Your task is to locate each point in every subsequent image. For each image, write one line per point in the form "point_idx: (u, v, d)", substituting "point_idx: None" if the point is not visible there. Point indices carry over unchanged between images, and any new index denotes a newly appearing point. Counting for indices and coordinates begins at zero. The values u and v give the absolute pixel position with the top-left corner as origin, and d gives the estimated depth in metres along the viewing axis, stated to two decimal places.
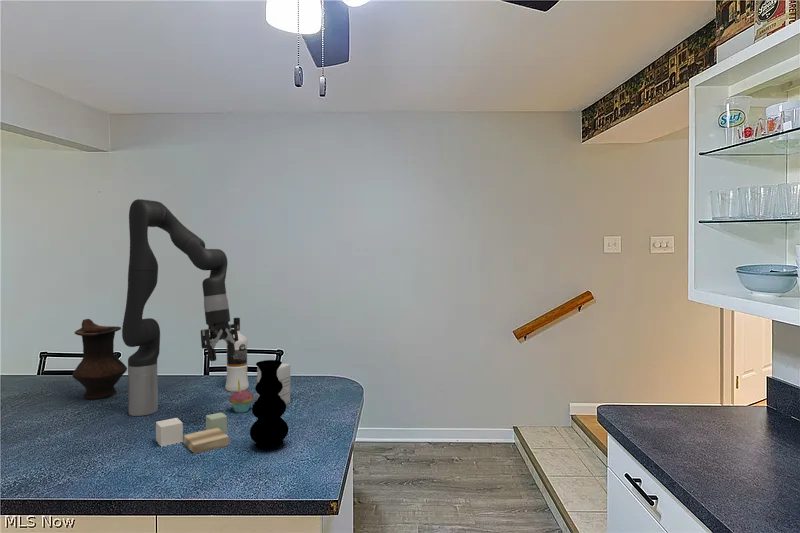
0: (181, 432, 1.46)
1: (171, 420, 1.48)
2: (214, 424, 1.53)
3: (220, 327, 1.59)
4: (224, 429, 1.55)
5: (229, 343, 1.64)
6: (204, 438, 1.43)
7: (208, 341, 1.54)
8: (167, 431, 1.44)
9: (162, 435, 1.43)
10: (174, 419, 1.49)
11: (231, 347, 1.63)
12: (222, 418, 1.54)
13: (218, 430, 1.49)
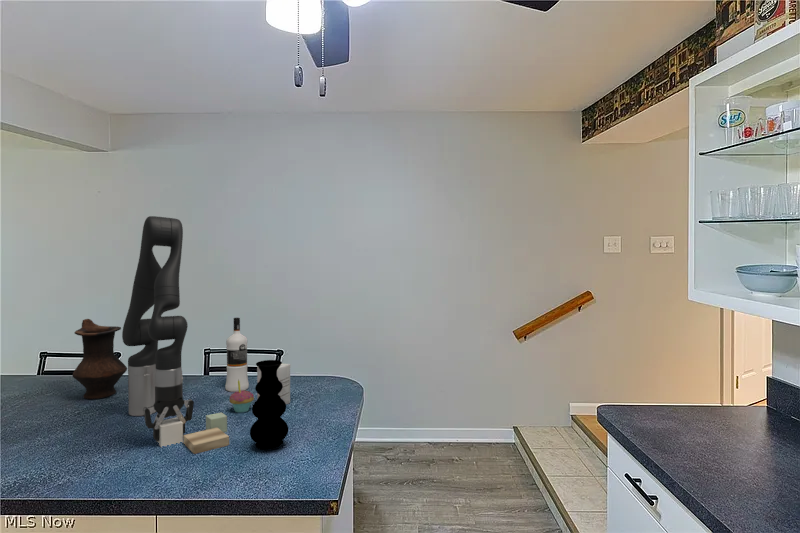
0: (181, 432, 1.46)
1: (171, 420, 1.48)
2: (214, 424, 1.53)
3: (168, 403, 1.45)
4: (224, 429, 1.55)
5: None
6: (204, 437, 1.43)
7: (149, 421, 1.42)
8: (167, 430, 1.44)
9: (162, 435, 1.43)
10: (174, 419, 1.49)
11: None
12: (222, 418, 1.54)
13: (218, 430, 1.49)
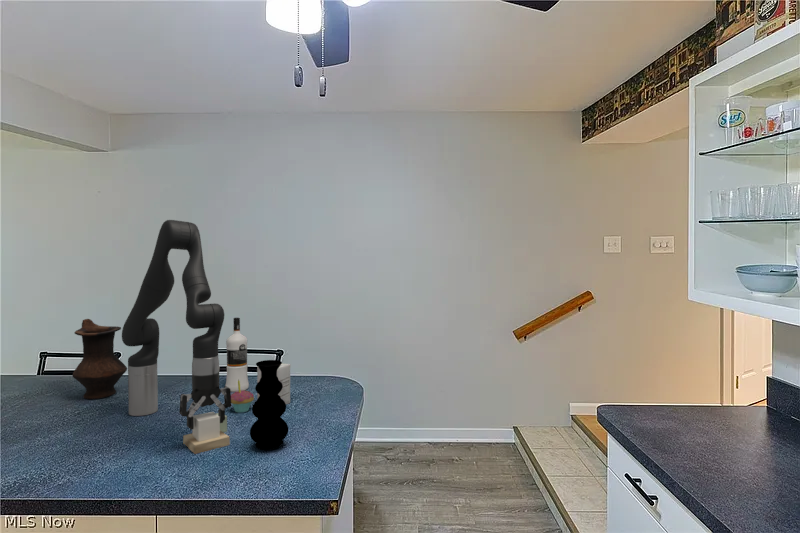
0: (218, 426, 1.44)
1: (207, 414, 1.46)
2: None
3: (205, 392, 1.43)
4: (224, 429, 1.55)
5: (219, 408, 1.47)
6: None
7: (184, 409, 1.40)
8: (205, 424, 1.42)
9: (200, 429, 1.41)
10: (210, 413, 1.47)
11: (220, 414, 1.47)
12: None
13: None
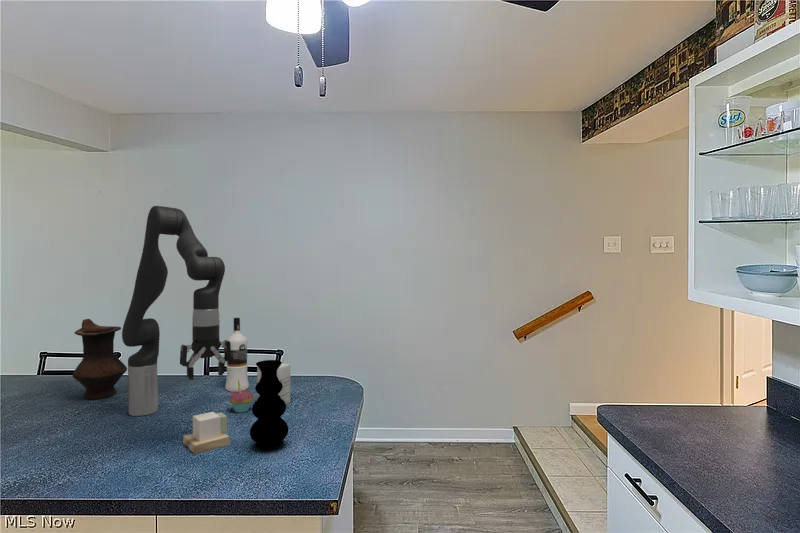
0: (219, 426, 1.44)
1: (208, 414, 1.46)
2: None
3: (205, 344, 1.45)
4: (224, 429, 1.55)
5: (219, 361, 1.49)
6: None
7: (184, 359, 1.41)
8: (206, 425, 1.42)
9: (201, 429, 1.41)
10: (211, 413, 1.47)
11: (220, 366, 1.48)
12: (222, 418, 1.54)
13: None
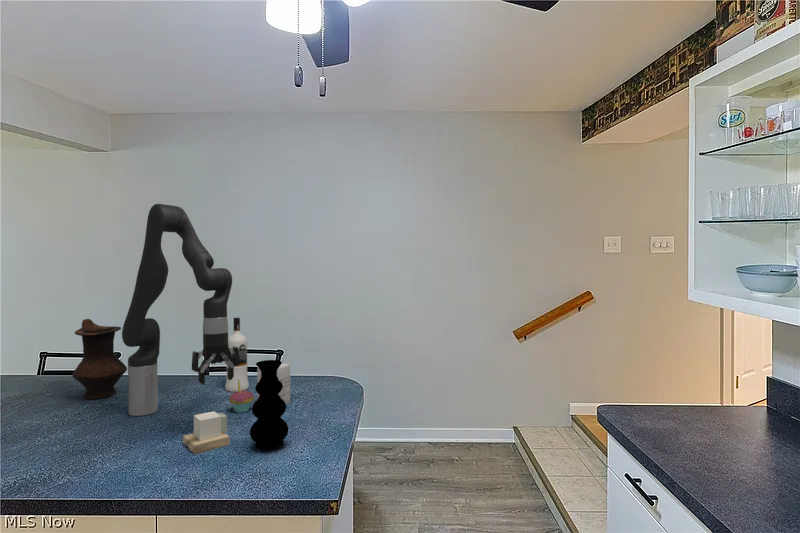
0: (219, 426, 1.44)
1: (209, 413, 1.47)
2: None
3: (215, 350, 1.54)
4: (224, 429, 1.55)
5: (228, 366, 1.58)
6: None
7: (196, 365, 1.50)
8: (206, 424, 1.42)
9: (201, 428, 1.41)
10: (212, 413, 1.47)
11: (229, 371, 1.57)
12: (222, 418, 1.54)
13: None
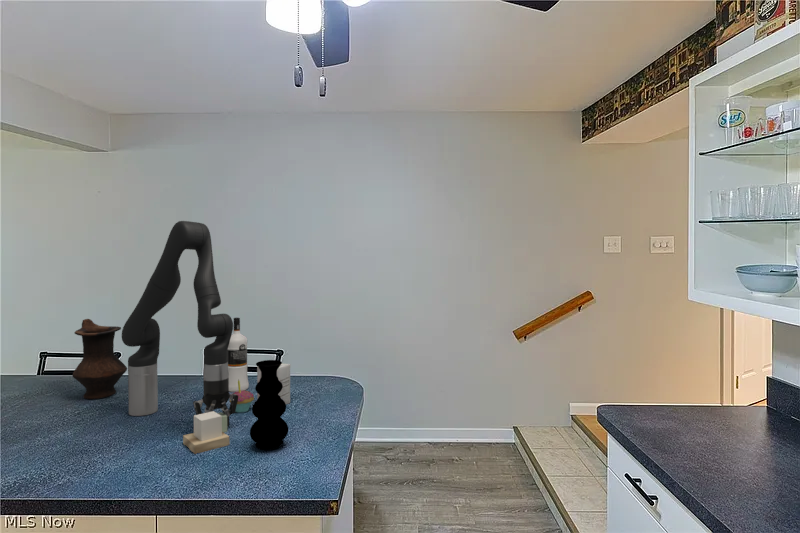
0: (220, 425, 1.45)
1: (209, 413, 1.46)
2: None
3: (215, 397, 1.54)
4: (224, 429, 1.55)
5: None
6: None
7: None
8: (207, 424, 1.42)
9: (202, 428, 1.41)
10: (211, 412, 1.47)
11: None
12: (222, 418, 1.54)
13: None
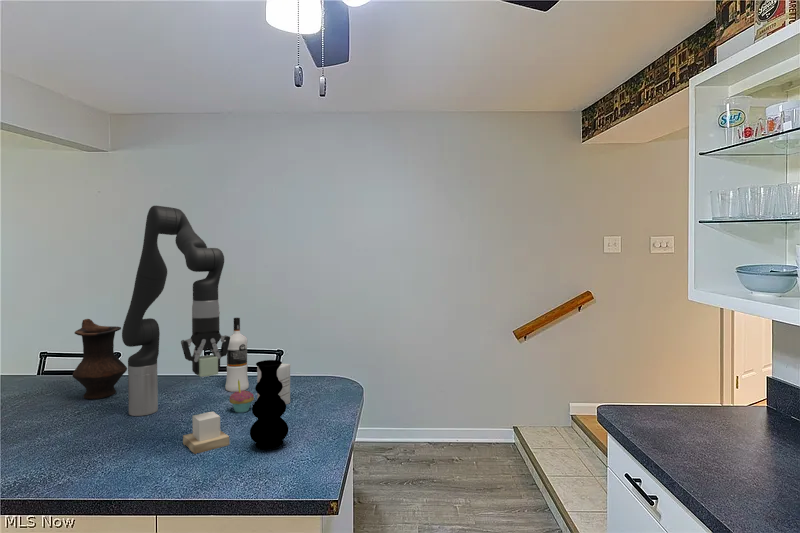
0: (219, 426, 1.44)
1: (208, 414, 1.46)
2: (204, 365, 1.42)
3: (205, 336, 1.43)
4: (215, 371, 1.44)
5: None
6: None
7: (188, 353, 1.40)
8: (205, 424, 1.42)
9: (200, 429, 1.41)
10: (210, 413, 1.47)
11: None
12: (212, 359, 1.43)
13: None
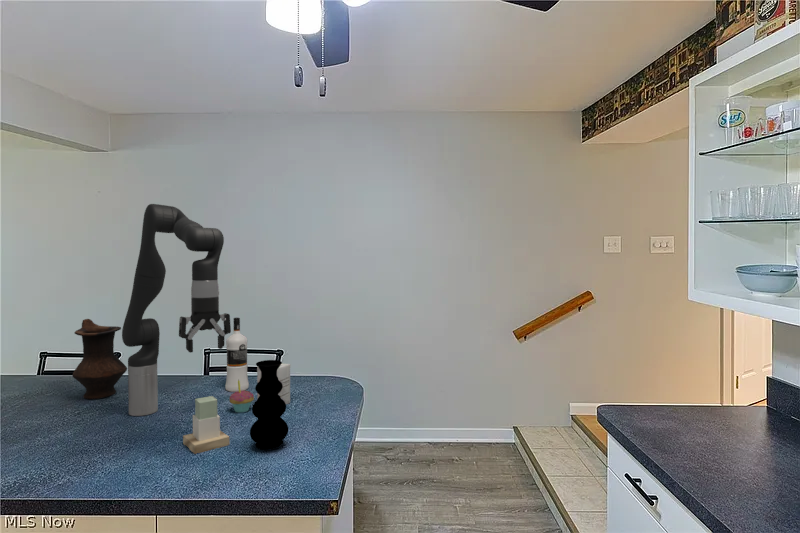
0: (218, 426, 1.44)
1: None
2: (203, 408, 1.42)
3: (204, 316, 1.43)
4: (214, 414, 1.44)
5: (219, 334, 1.47)
6: None
7: (183, 330, 1.39)
8: (205, 424, 1.42)
9: (200, 428, 1.41)
10: None
11: (219, 339, 1.46)
12: (212, 402, 1.43)
13: None
